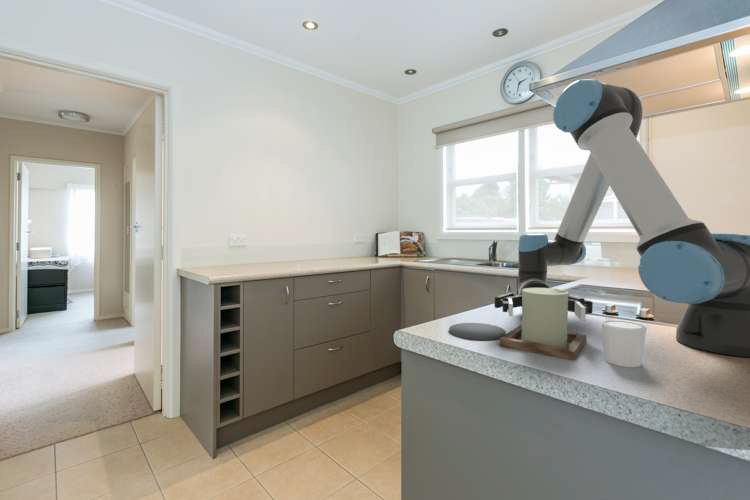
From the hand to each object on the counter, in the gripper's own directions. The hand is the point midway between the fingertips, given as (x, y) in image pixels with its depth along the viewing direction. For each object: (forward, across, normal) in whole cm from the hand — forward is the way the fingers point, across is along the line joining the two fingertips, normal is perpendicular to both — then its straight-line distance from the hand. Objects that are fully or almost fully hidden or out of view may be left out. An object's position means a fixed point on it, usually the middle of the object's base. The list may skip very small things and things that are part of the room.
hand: (546, 312), depth 76 cm
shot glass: (+4, -13, -8) cm, 15 cm away
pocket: (-3, 0, -8) cm, 8 cm away
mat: (-8, +14, -8) cm, 18 cm away
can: (-3, 0, -8) cm, 8 cm away
